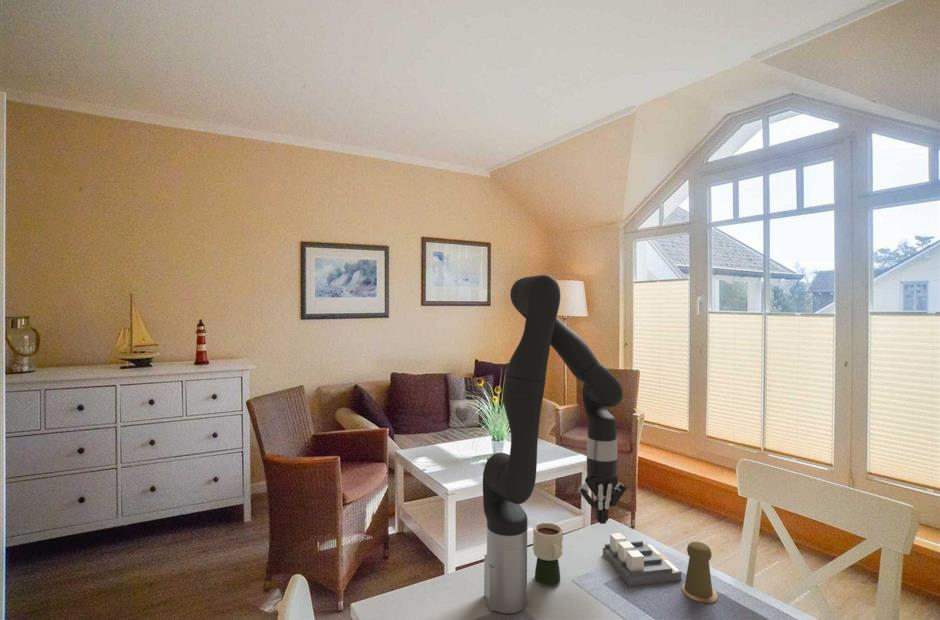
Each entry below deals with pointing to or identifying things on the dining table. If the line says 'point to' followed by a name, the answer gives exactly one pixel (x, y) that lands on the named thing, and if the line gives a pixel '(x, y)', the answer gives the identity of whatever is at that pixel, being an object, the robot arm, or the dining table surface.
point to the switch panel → (654, 566)
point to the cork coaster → (702, 600)
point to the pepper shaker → (699, 571)
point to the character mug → (547, 552)
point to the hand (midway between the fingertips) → (601, 522)
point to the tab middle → (624, 550)
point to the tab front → (635, 560)
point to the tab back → (616, 541)
